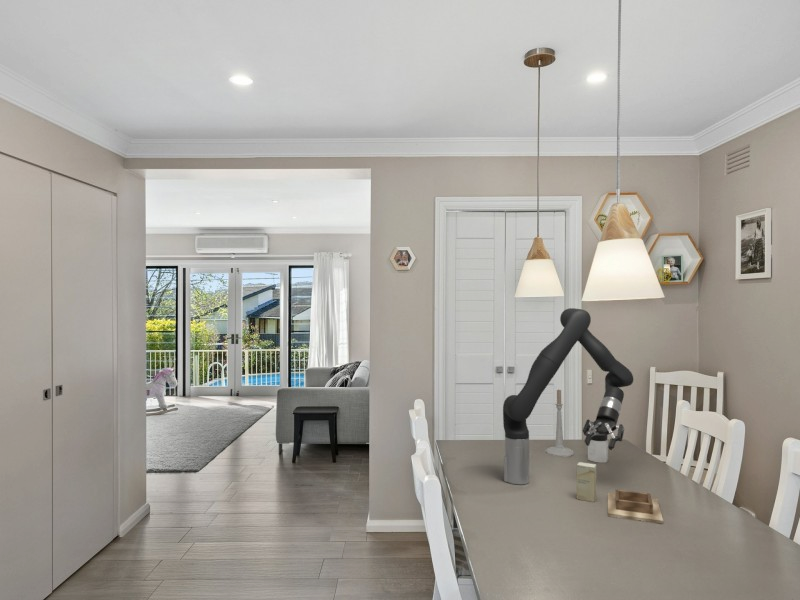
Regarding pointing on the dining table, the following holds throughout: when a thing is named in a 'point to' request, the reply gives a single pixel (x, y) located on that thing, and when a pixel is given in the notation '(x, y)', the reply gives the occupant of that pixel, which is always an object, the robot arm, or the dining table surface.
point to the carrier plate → (634, 506)
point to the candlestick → (559, 433)
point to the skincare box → (586, 481)
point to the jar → (598, 448)
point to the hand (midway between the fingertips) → (598, 446)
